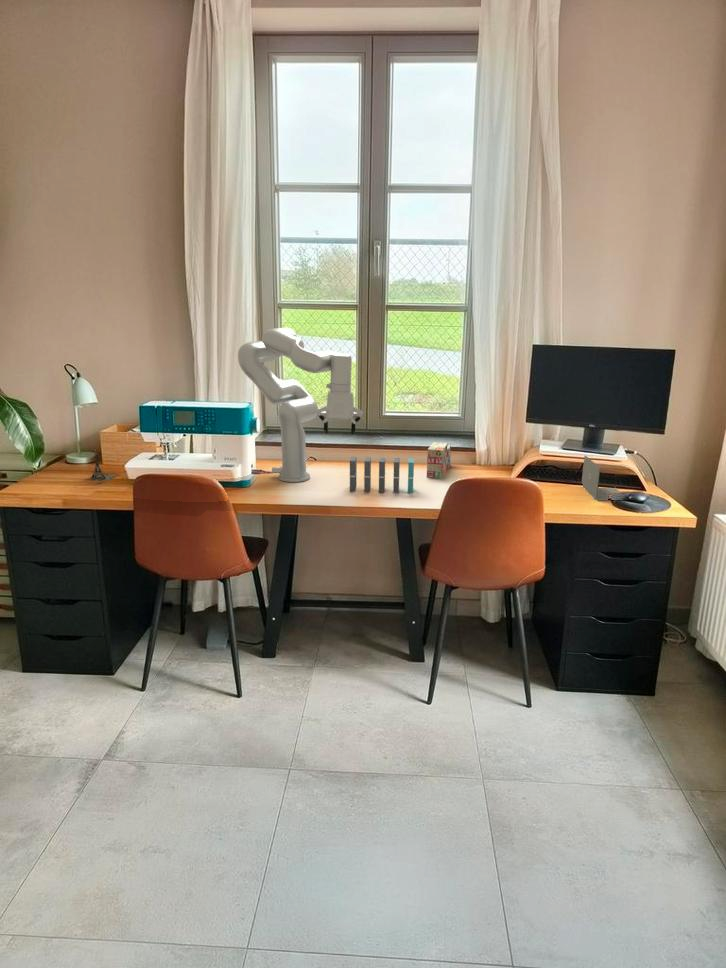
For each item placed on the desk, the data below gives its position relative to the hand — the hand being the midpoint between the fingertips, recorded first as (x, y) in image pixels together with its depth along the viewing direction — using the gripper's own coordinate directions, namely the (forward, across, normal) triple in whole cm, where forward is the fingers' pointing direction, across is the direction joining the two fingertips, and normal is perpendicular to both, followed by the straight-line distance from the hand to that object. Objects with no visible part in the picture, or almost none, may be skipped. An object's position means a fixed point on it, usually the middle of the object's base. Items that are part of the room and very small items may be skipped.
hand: (339, 433), depth 248 cm
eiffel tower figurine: (+26, -96, +9) cm, 100 cm away
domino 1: (+22, +6, -1) cm, 22 cm away
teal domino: (+21, +28, -3) cm, 35 cm away
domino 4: (+21, +22, -2) cm, 31 cm away
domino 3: (+21, +17, -2) cm, 27 cm away
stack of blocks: (+21, +41, +25) cm, 53 cm away
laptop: (+19, +101, -3) cm, 103 cm away
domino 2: (+21, +11, -2) cm, 24 cm away
